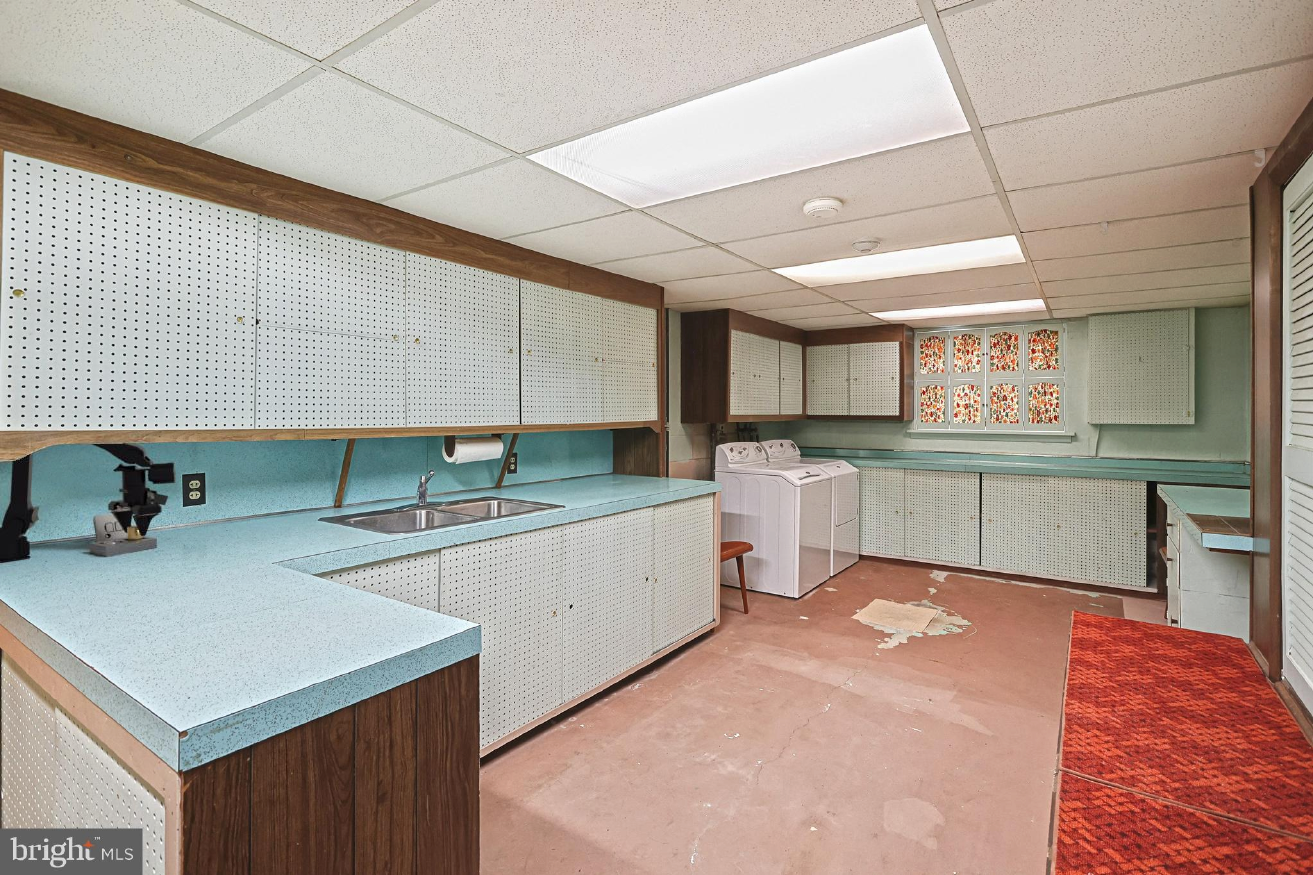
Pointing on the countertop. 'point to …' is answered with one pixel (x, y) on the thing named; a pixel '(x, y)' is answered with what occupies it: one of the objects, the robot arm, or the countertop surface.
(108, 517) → the electrical switch
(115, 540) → the silver round knob
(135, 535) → the gold domed cylinder
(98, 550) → the jig
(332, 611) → the countertop surface
